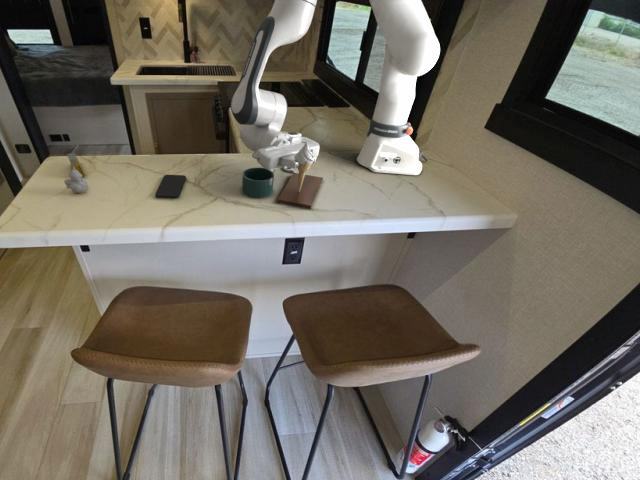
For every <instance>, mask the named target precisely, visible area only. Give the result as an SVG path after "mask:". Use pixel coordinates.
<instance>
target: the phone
mask: <svg viewBox="0 0 640 480" xmlns="http://www.w3.org/2000/svg"><path fill="white" fill-rule="evenodd" d="M186 179H187V175H185V174H165V175H163V176H162V178H161V181H160V183H159V185H158V187H157V189H156V191H155V194H154V195H155V198H157V199H178V198H180V197H181V193H182V191H183V188H184V187H185V186H184V185H185V182H186Z"/></svg>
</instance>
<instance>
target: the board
mask: <svg viewBox="0 0 640 480" xmlns="http://www.w3.org/2000/svg"><path fill="white" fill-rule="evenodd" d="M298 176H299V172H298V173H297V172H296V173H293V172H292V175H291V176H290V178H289V180H288V181H287V183H286V184H285V187H284V188H283V190H282V192H281V194H280V195H279V197H278V199H277V204H282V205H286V206H291V207H297V208H302V209H307V210H311V209H312V207H313V205H314V202H315V200H316V197H317V195H318V193H319V190H320V188H321V186H322V183H323V181H324V177H323V176H316V175H311V174H310V175H309V174H305V176H304V179H303V183H302V186H301V190H300V192H298Z"/></svg>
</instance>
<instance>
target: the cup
mask: <svg viewBox="0 0 640 480" xmlns="http://www.w3.org/2000/svg"><path fill="white" fill-rule="evenodd" d="M274 181H275V173H274V171H270V169H265V168H264V167H250V168H247V169H245V170H243V171H242V179H241V183H242V184H241V191H242V194H243V195H244V196H246V197H248V198H251V199H266V198H269V197H270V196H271V195H272V194H273V190H274Z"/></svg>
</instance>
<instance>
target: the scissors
mask: <svg viewBox="0 0 640 480" xmlns="http://www.w3.org/2000/svg"><path fill="white" fill-rule="evenodd" d="M269 170H270V171H272V172H274V170H275V168H274V169H269ZM283 170H284V171H285V172H288V173H292V174H293V173H297V171H296V170H295V169H294V168H292V167H287V166H283Z"/></svg>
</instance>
